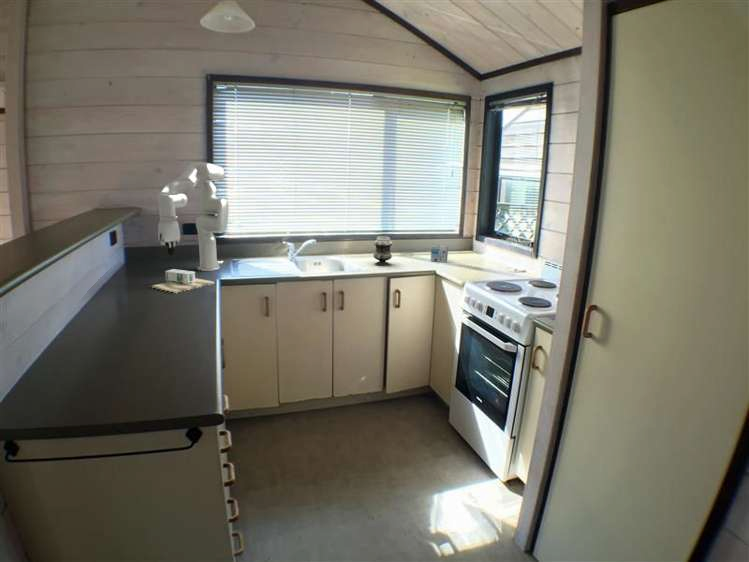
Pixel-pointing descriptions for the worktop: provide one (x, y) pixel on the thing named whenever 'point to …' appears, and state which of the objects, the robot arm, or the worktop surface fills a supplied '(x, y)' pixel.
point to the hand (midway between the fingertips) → (171, 254)
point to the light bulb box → (439, 253)
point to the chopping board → (182, 285)
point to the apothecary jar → (382, 250)
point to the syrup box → (180, 276)
